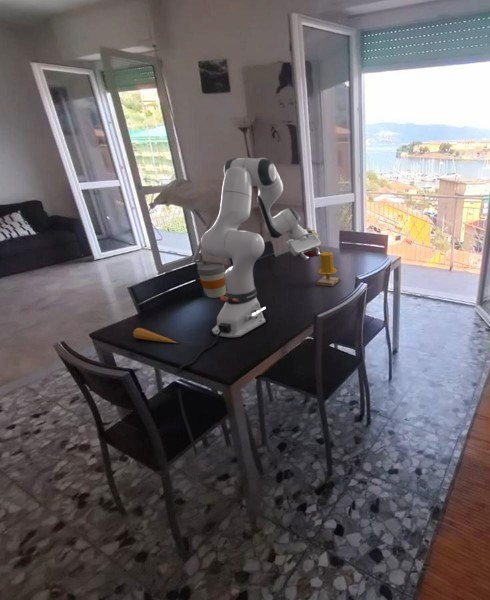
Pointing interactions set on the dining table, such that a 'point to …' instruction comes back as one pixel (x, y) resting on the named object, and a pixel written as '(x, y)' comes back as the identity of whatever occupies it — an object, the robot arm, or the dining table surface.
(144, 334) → the carrot
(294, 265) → the dining table surface
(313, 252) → the kitchen canister
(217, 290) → the reusable coffee cup
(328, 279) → the hat peg
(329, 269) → the hat
